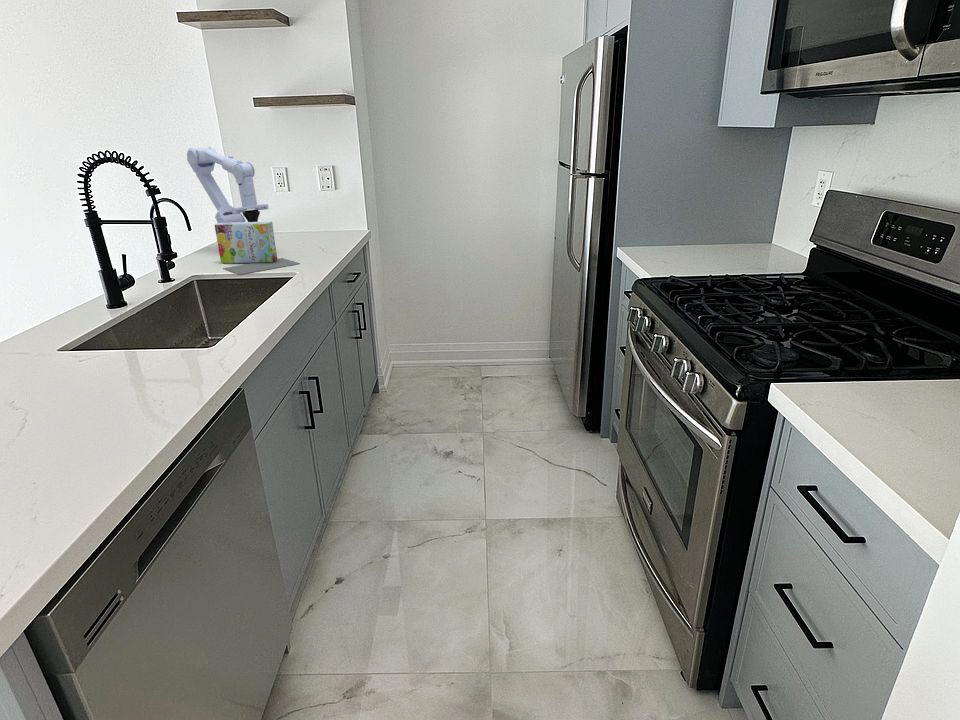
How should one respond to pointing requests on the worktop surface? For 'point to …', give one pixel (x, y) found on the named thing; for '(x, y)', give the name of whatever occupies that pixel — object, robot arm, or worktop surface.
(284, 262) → the mat
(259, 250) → the snack box
